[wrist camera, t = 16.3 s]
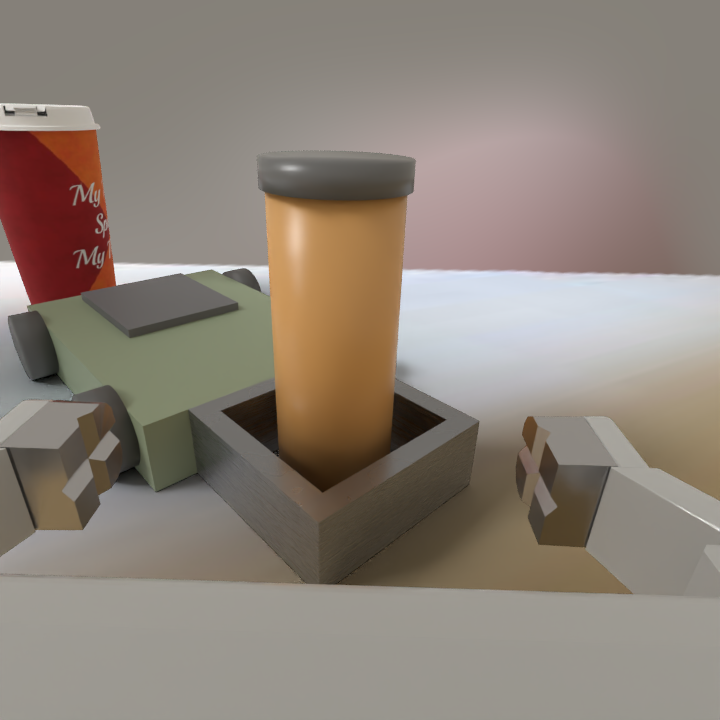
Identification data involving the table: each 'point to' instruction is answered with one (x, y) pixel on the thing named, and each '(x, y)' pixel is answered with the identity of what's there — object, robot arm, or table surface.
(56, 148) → the coffee cup
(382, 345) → the orange and grey cylinder
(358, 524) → the box
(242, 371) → the toy wheeled cart
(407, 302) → the table surface
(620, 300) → the table surface
